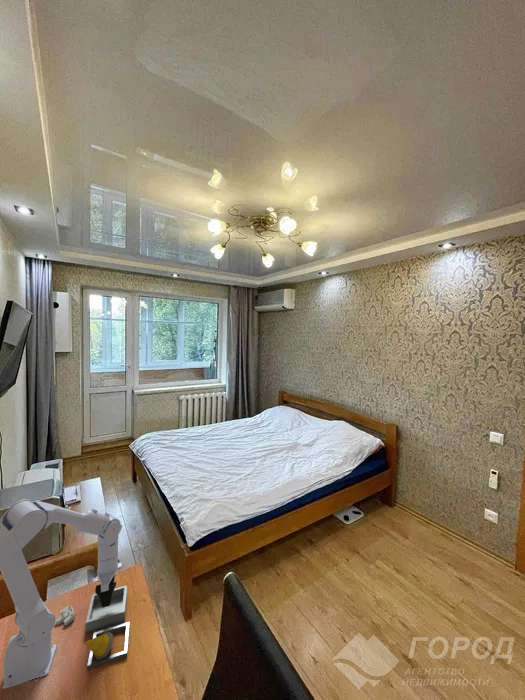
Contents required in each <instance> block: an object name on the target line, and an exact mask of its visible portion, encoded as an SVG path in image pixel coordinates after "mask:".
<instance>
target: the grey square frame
mask: <svg viewBox="0 0 525 700" xmlns="http://www.w3.org/2000/svg"><path fill="white" fill-rule="evenodd" d="M124 631H125V635H124V636H125V637H124V647H123V649H124V650H123V651H119V652H117V653H114V654H111V655H110V654H109V655H107V656H106V657H104V658H101V659H95V660H93V659H94V653H93V652H92V651H91V650H90V649H89V655H88V661H87V664H86V665H87V667H86V669H87V671H89V670H91V669H94V668H97V667H101V666H105V665H108V664H110V663H114V662H117V661H119V660H122V659H126V658H128V651H129V636H130V621H128V622H125V623H122V624H118V625H115V626H111V627H108V628H104V629H100V630H97V631H93V635H92V639H94V638H96V637H99V636H101V635H102V634H103V633H105V632H110V633H112V635H114V634H117V633H121V632H124Z"/></svg>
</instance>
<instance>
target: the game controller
mask: <svg viewBox="0 0 525 700" xmlns="http://www.w3.org/2000/svg"><path fill="white" fill-rule="evenodd" d="M88 605H89V606H90V603H88V604H87V605H86V604H82V605H80V606H79V608H81V607H83V606H88ZM75 611H77V609H74V607H73V605H67V606H65V607H64V608H62V609H60V611H59V613H60V616H59V617H58V618H56V619H55V624H56V625H60V624H62V623H64V626H68V625H69V624H70V623H71V622H72V621H73V620H75V617H76V613H75Z"/></svg>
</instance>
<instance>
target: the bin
mask: <svg viewBox="0 0 525 700" xmlns="http://www.w3.org/2000/svg"><path fill="white" fill-rule="evenodd" d="M127 600H128V585H127V584H126V585H124V586H120V587H115V589H114V591H113V593H112V598H111V603H110V606H107V607H104V608H102V605H101V601H100V598H99V596H98V595H97V594H96V593H93V594H92V595H91V598H90V603H89V607H88V610H87V616H86V620H85V631H84V632H85V634H90V633H92V632H93V633H94V632H97V631H100V630H104V629H107V628H110V627H114V626H117V625H120V624H123V623H126V621H125V620H126V613H127Z"/></svg>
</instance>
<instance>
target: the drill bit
mask: <svg viewBox="0 0 525 700" xmlns="http://www.w3.org/2000/svg"><path fill="white" fill-rule="evenodd" d="M113 642H114V636H113V634H112V633H110V632H105V633H103V634H102V635H101V636H99V637H96V638H94V639H93V638H91V639H88V640H87V641H85V642H84V645H85V646H86V647H87V648H88V649H89V651H90V650H91V651H92V652H93V653H94V654H93V657H94V658H95V660H98V659H101V658H104V657H107V656H108V654H109V653H110V651H111V650H113V649H114V646H113Z"/></svg>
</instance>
